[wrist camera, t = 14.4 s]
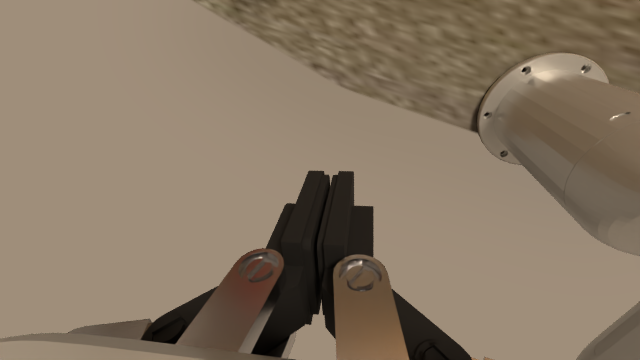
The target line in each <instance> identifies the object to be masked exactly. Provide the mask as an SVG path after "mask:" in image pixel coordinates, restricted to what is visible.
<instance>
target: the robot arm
mask: <svg viewBox="0 0 640 360" xmlns="http://www.w3.org/2000/svg"><path fill="white" fill-rule="evenodd" d="M524 67H525V70H524V71H522V69H523V68H524ZM582 67H583V68H582ZM581 68H582V69H581ZM486 112H488V113H487V114H486V115H484V114H485V113H486ZM477 128H478V134H479V136H480V138H481V141H482V143H483V144H484V145H485V147H486V148H487V149H488V150H489V151H490V152H491V153H492V154H493V155H494V156H496V157H497V158H499V159H500V160H503V161H506V162H508V163H512V164H519V165H523V166H524V167H525V168H526V169H527V170H528V171H529V172H530V173H531V174H532V175H533V176H534V178H535V179H536V180H537V181H538V182H539V183H540V184H541V185H542V186H543V187H544V188H545V189H546V190H547V191H548V192H549V193H550V194H551V195H552V196H553V197H554V198H555V199H556V201H558V203H559V204H560V205H561V206H562V207H563V208H564V209H565V210H566V211H567V212H568V213H569V214H570V215H571V216H572V217H573V218H574V220H575V221H576V222H577V223H578V224H579V225H580V226H581V227H582V228H583V229H584V230H586V231H587V232H588V233H589V234H590V235H591V236H593V237H594V238H596V239H597V240H599V241H600V242H602V243H604V244H606V245H608V246H610V247H612V248H614V249H617V250H619V251H622V252H626V253H629V254H633V255H637V256H640V94H639V93H636V92H632V91H629V90H626V89H623V88H620V87H617V86H614V85H611V84H609V81H608V78H607V76H606V74H605V72H604V71H603V69H602V68H601V67H600V66H598V65H597V64H596V63H595V62H594V61H592V60H590V59H588V58H586V57H583V56H580V55H576V54H571V53H564V52H559V53H547V54H542V55H538V56H535V57H532V58H530V59H527V60H524V61H522V62H521V63H519V64H517V65H515V66H514V67H512V68H510V69H509V70H508V71H507V72H505V73H504V74H503V75H502V76H500V77H499V78H498V80H497V81H496V82H495V83H494V84H493V85H492V86H491V87H490V89H489V90H488V92H487V93H486V95H485V96H484V98H483V101H482V103H481V105H480V108H479V112H478V116H477ZM502 151H503V152H502ZM321 299H322V310H323V315H325V325H326V328H327V329H328V331H329V332H330V333H331V334H332V335H333V337H334V338H335V339H336V357H337V360H478V359H475V358H472V357H470V355H469V354H468V353H467V352H466V351H465V350H464V349H463V348H462V347H461V346H460V345H459V344H457V343H456V342H455V341H454V340H453V339H451V338H450V337H449V336H448V335H447V334H445V333H444V332H443V331H442V330H440V329H439V328H438V327H437V326H436V325H435V324H433V323H432V322H431V321H430V320H429V319H427V318H426V317H425V316H424V315H423V314H421V313H420V312H419V311H418V310H417V309H415V308H414V307H413V306H412V305H411V304H409V303H408V302H407V301H406V300H405V299H403V298H402V297H401V296H400V295H399V294H397V293H396V292H395V291H394V290H393V289H391V285H390V281H389V277H388V273H387V271H386V268H385V266H384V265H383V264H382V263H381V262H380V261H378V260H377V259H375V258H373V206H354V172H351V171H347V172H346V171H339V173H338V175H333V178H332V182H331V186H330V177H329V175H324V171H309V172H308V174H307V177H306V179H305V182H304V184H303V187H302V189H301V192H300V194H299V197H298V199H297V202H296V204H291V203H287V204H286V205H285V207H284V209H283V211H282V213H281V215H280V218H279V220H278V222H277V224H276V227H275V229H274V231H273V233H272V235H271V238H270V240H269V242H268V244H267V247H266V249H264V248H262V249H256V250H253V251H250V252H248V253H246V254H245V255H243V256H242V257H241V258H240V259H239V260H238V261H237V262H236V263H235V264H234V266H233V267H232V268H231V270H230V272H229V273H228V274H227V275H226V277H225V278H224V279H223V281H222V282H221V283H220V285H219V286H217V287H216V288H214V289H211V290H210V291H208V292H206V293H204V294H202V295H200V296H198V297H196V298H194V299H192V300H191V301H189V302H187V303H185V304H183V305H181V306H179V307H177V308H175V309H173V310H172V311H170V312H168V313H166V314H164V315H163V316H161V317H160V318H158V319H157V320H156V321H155V322H151V320H150V319H144V320H136V321H126V322H118V323H110V324H101V325H92V326H84V327H80V328H77V329H74V330H72V331H70V332H68V333H45V334H44V333H42V334H29V335H21V336H14V337H7V338H2V339H0V360H294V359H288V356H289V354H290V352H291V349H292V347H293V344H294V341H295V337H296V331H297V330H298V329H300V328H301V327H303V326H304V325H305V324H309V325H311V321H312V317H313V314H319V310H320V305H321ZM484 360H493V359H490V358H486V357H484ZM576 360H640V302H638V303H637V304H636V305H635V306H634V307H632V308H631V309H630V310H629V311H628V312H626V313H625V314H624V315H623V316H621V318H619V319H618V320H617V321H616V322H614V323H613V324H612V325H611V326H609V327H608V328H607V329H606V330H605V331H603V332H602V333H601V334H600V335H599V336H598V337H596V338H595V339H594V340H593V341H592V342H591V343H590V344H589V345H588V346H587V347H586V348H585V349H584V350H583V351H582V352H581V353H580V355H579V356H578V357H577V359H576Z"/></svg>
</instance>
